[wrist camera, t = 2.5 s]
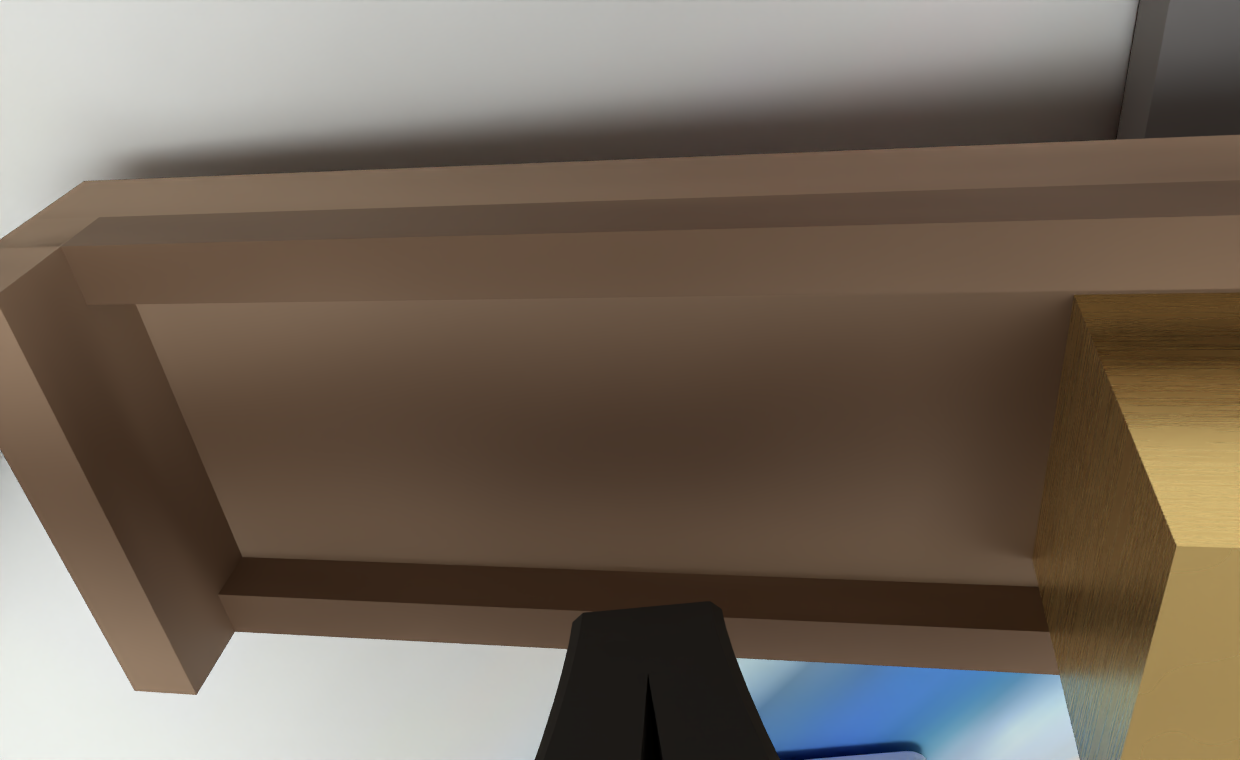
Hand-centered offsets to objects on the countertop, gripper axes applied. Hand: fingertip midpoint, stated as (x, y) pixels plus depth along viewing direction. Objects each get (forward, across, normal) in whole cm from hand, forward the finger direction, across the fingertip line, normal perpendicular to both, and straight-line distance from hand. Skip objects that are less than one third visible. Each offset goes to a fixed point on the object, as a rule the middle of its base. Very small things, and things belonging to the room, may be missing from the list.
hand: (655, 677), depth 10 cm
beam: (+4, -9, 0) cm, 9 cm away
